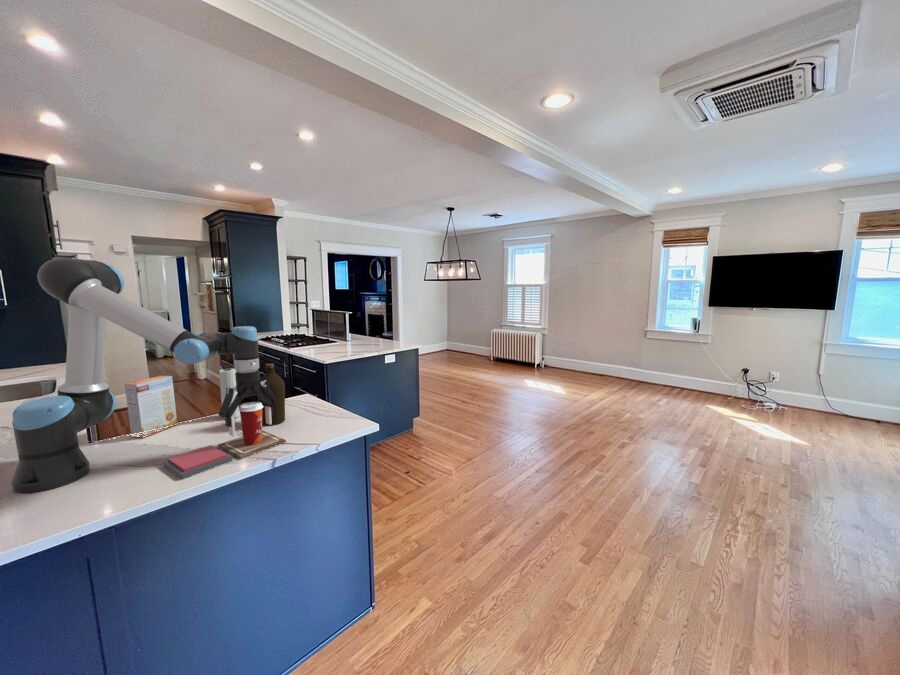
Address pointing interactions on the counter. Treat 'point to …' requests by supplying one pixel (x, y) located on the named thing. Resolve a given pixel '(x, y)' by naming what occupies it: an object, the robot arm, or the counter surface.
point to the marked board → (244, 450)
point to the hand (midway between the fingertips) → (251, 429)
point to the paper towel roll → (228, 385)
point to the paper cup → (251, 422)
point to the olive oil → (279, 392)
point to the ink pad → (197, 461)
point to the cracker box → (151, 404)
